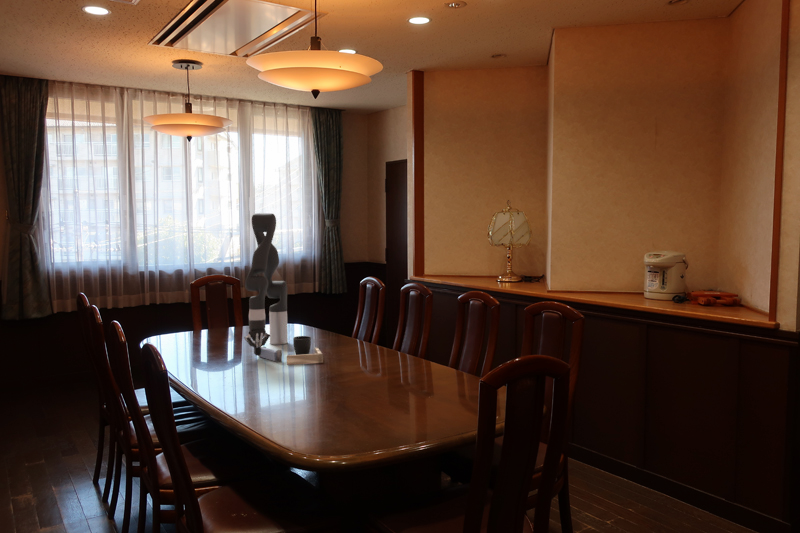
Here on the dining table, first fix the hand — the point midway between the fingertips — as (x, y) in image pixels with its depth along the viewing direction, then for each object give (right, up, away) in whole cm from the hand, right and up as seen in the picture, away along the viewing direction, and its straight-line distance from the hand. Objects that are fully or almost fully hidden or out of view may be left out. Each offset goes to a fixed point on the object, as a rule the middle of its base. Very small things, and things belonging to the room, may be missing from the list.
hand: (257, 355), depth 281 cm
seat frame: (+22, -2, -3) cm, 22 cm away
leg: (+6, -1, 0) cm, 6 cm away
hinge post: (+11, -2, -6) cm, 13 cm away
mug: (+20, -2, +5) cm, 20 cm away
